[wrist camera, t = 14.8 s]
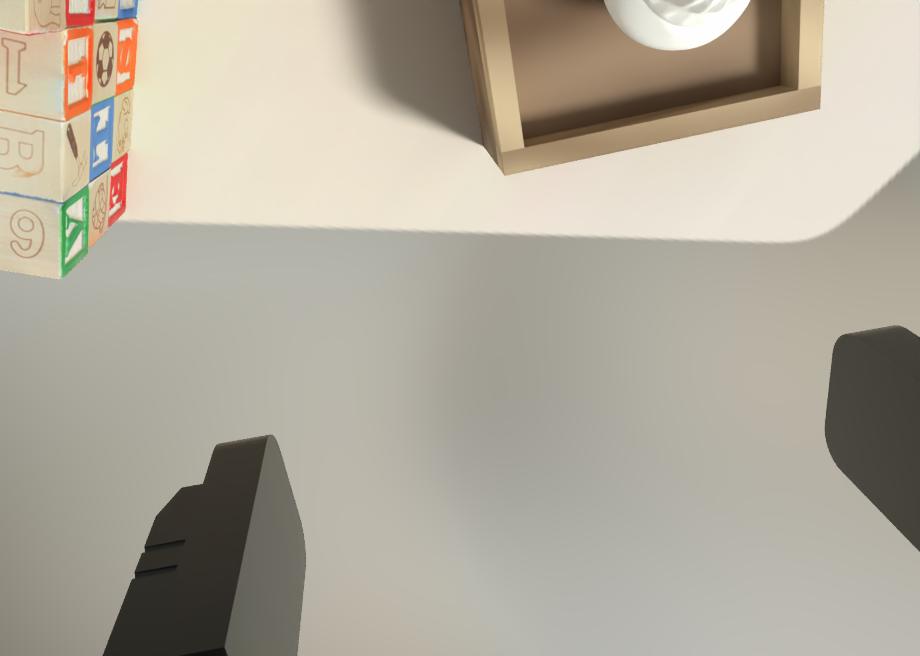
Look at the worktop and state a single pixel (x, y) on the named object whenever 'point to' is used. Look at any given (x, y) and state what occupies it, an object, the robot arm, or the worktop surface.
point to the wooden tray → (629, 78)
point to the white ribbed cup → (675, 21)
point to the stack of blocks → (63, 128)
